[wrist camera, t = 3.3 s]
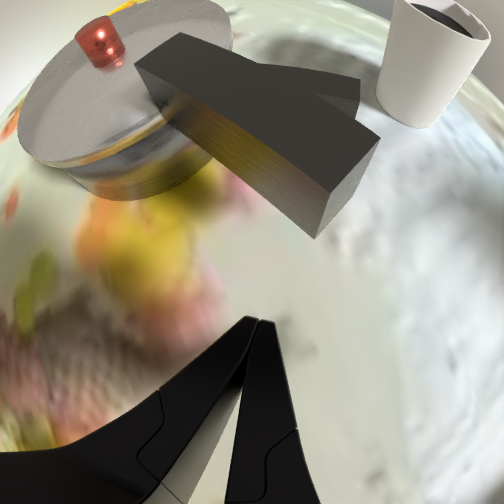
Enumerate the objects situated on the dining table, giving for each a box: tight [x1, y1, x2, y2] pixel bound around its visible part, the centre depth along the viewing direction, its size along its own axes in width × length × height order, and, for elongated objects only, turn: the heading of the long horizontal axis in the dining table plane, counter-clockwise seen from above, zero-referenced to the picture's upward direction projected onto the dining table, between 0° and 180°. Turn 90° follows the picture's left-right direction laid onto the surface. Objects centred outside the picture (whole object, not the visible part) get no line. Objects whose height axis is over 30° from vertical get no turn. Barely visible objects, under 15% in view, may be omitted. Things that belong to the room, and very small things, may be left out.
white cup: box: [376, 0, 491, 128], centre depth 14 cm, size 7×7×10 cm
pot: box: [61, 63, 360, 201], centre depth 18 cm, size 15×27×6 cm, turn 76°
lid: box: [17, 0, 381, 239], centre depth 12 cm, size 16×25×4 cm, turn 46°
